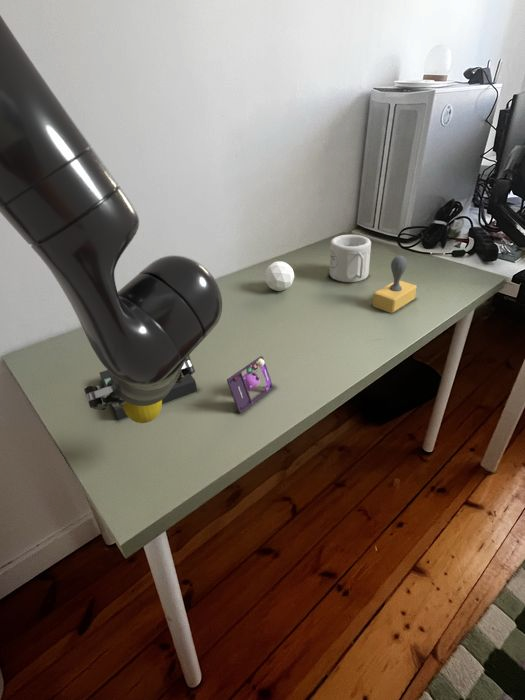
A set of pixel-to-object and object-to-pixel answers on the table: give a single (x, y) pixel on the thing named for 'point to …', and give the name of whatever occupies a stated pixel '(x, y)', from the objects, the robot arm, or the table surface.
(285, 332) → the table surface
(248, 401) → the purple toy
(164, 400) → the scale
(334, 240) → the mug
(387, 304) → the rubber stamp
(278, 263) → the geometric ball
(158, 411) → the lemon
